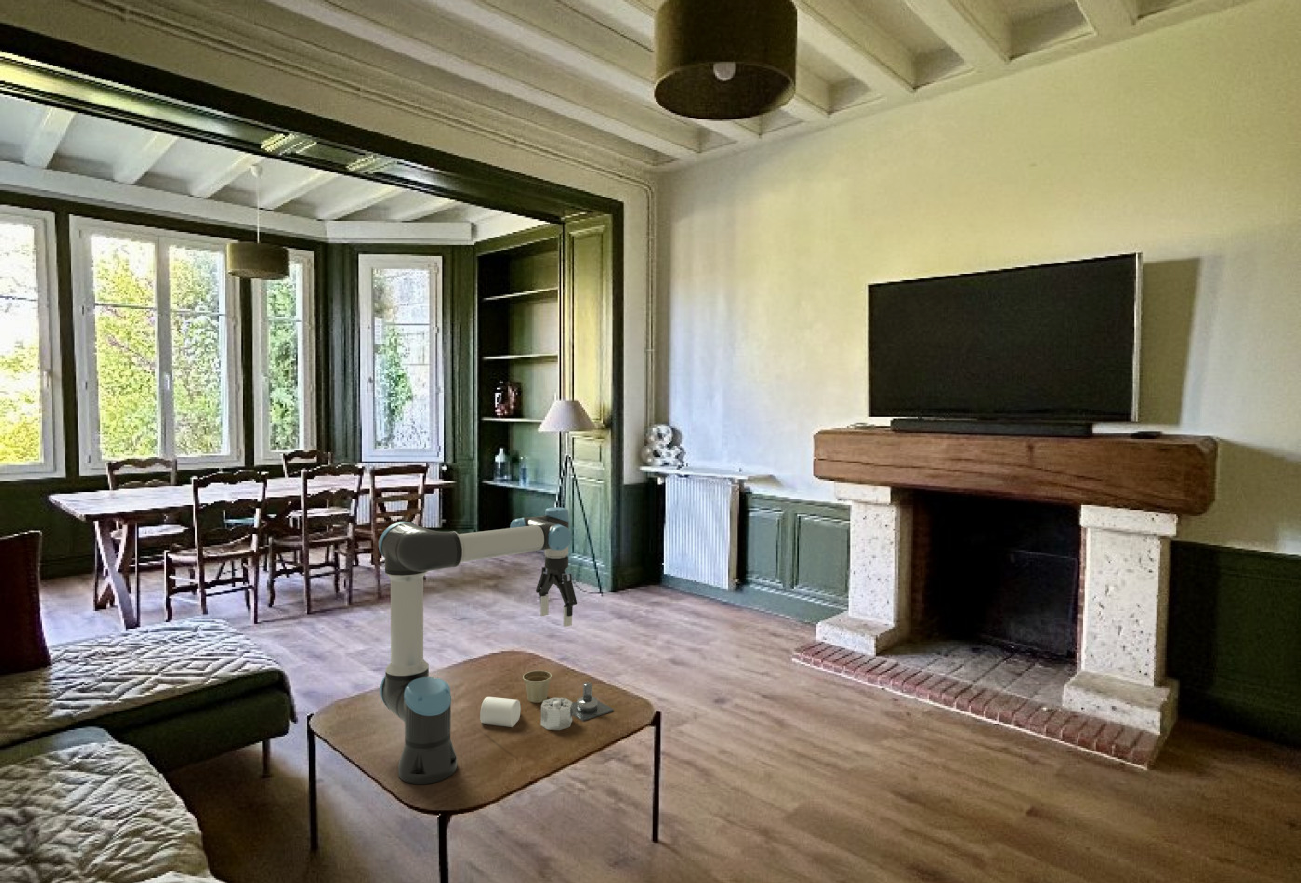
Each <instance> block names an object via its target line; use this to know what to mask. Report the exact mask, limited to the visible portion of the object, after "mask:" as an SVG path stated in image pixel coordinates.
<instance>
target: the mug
mask: <svg viewBox="0 0 1301 883" xmlns="http://www.w3.org/2000/svg"><path fill="white" fill-rule="evenodd" d="M520 716H521V702H520V700H518V699H512V698H504V697H503V698H502V697H494V696H486V697H485V698H484V699H483V701H482V704H481V707H480V713H479V718H480V720H479V721H480V722H481V724H483V725H494V726H501V727H511V728H513V727H514V726H515V725H516V724H517V723H518V721H520Z"/></svg>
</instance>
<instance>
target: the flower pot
mask: <svg viewBox="0 0 1301 883" xmlns="http://www.w3.org/2000/svg"><path fill="white" fill-rule="evenodd" d="M552 678H553V675H552V673H551V672H549V671H546V670H532V671H528V672H526V673H524V674H523V676H522V679H523V682H524V683H525V692H526V696H527V701H529V702H530V703H543V701H544V700H547V699H548V694H549V688H550V682H551V679H552Z"/></svg>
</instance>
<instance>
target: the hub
mask: <svg viewBox="0 0 1301 883" xmlns="http://www.w3.org/2000/svg"><path fill="white" fill-rule="evenodd" d="M582 685H583V686H582V688H583V689H582V696H581V697H579V698H577V701H575V702H572V717H575V718H576V719H578V720H580V721H582V722H586V721H589V720H591V719H594V718H597V717H600V716H603V715H605V714H610V713H612V712H614V711H615V709H614V708H612V707H610V706H609V705H607V704H605V703H603V702H602V701H600V700H598V698H597V697H595V696H593V683H592V682H590V681H589V682H588V681H587V682H583V683H582Z"/></svg>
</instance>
